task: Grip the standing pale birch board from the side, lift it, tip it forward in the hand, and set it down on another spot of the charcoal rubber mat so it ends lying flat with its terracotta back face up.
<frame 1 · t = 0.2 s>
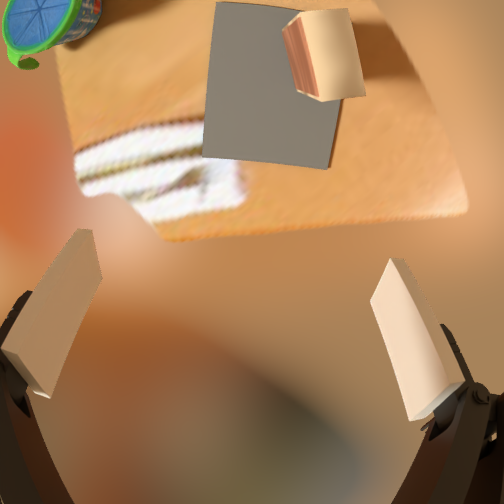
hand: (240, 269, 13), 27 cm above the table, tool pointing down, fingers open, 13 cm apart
birch board: (306, 57, 30), point 1 cm above the table, touching mat
snack cup: (79, 15, 25), on the table
mat: (275, 84, 32), on the table
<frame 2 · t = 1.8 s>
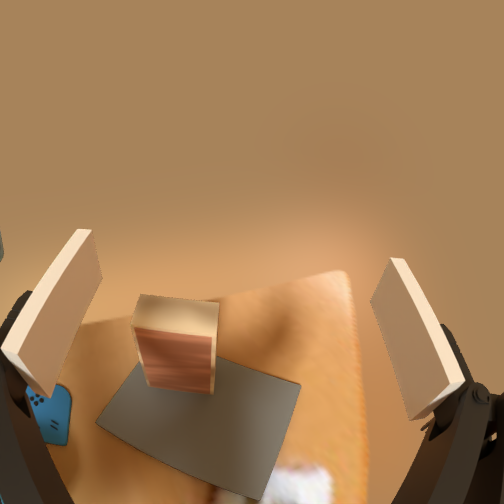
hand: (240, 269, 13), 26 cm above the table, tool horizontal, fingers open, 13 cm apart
handheld gaming device: (23, 409, 26), on the table
birch board: (182, 377, 35), point 1 cm above the table, touching mat
mat: (201, 411, 32), on the table
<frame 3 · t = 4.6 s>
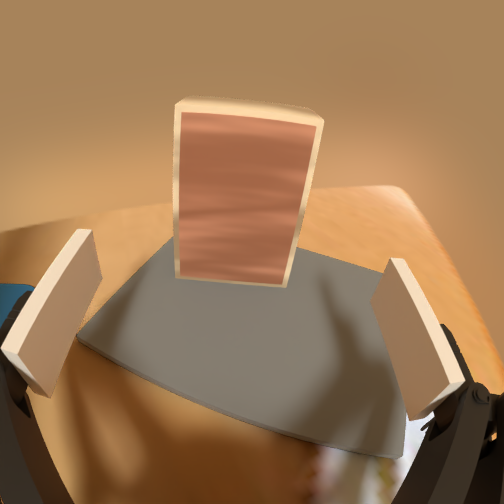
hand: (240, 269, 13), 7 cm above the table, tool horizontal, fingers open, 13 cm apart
birch board: (231, 265, 23), point 1 cm above the table, touching mat
mat: (269, 314, 21), on the table
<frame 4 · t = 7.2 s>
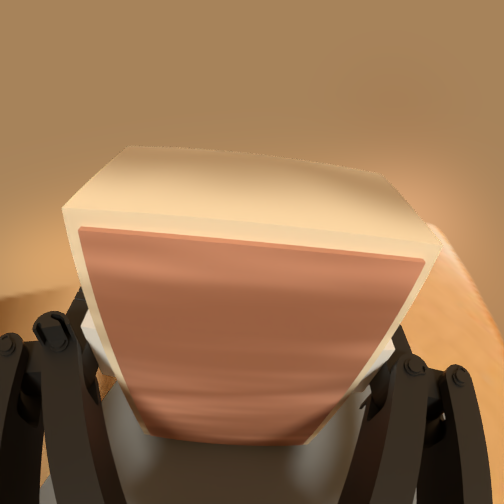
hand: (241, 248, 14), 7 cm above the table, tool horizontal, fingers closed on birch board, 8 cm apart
birch board: (227, 409, 14), point 1 cm above the table, touching gripper, mat
mat: (282, 486, 11), on the table
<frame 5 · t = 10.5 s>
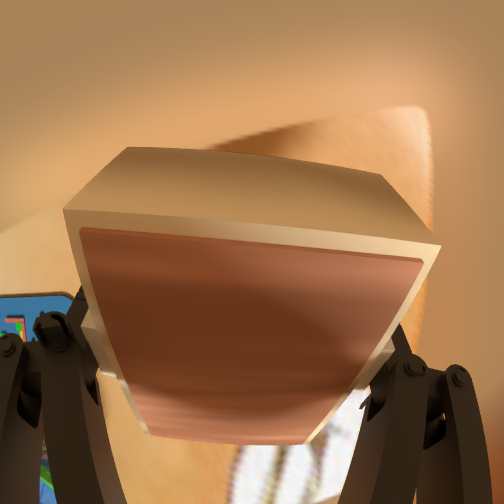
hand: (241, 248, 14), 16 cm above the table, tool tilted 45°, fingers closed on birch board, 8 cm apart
handheld gaming device: (32, 333, 27), on the table
birch board: (227, 408, 14), point 14 cm above the table, tilted 45°, touching gripper
snack cup: (73, 464, 24), on the table
when the fingers open (5 cm above the table, at t = 14.6 s): birch board drops 1 cm and tips over, resting on mat.
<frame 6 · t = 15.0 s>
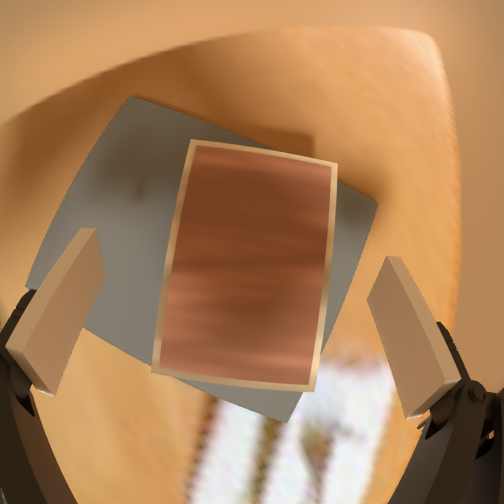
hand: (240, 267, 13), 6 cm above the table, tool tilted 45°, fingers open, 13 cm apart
birch board: (232, 375, 16), point 3 cm above the table, tilted 90°, touching mat
mat: (194, 245, 19), on the table
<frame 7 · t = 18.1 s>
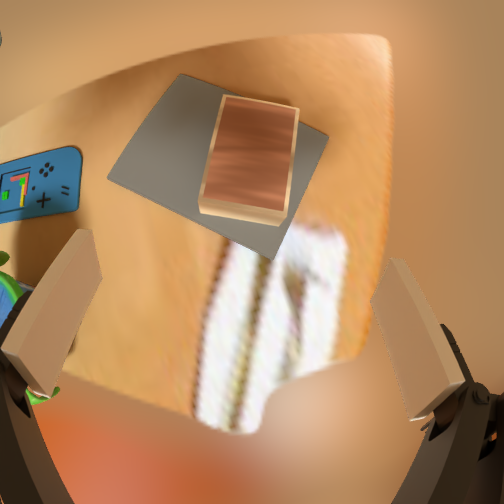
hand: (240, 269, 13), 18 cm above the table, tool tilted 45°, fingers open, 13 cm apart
handheld gaming device: (33, 187, 30), on the table
birch board: (240, 214, 29), point 3 cm above the table, tilted 90°, touching mat
snack cup: (41, 323, 28), on the table
mat: (220, 153, 32), on the table
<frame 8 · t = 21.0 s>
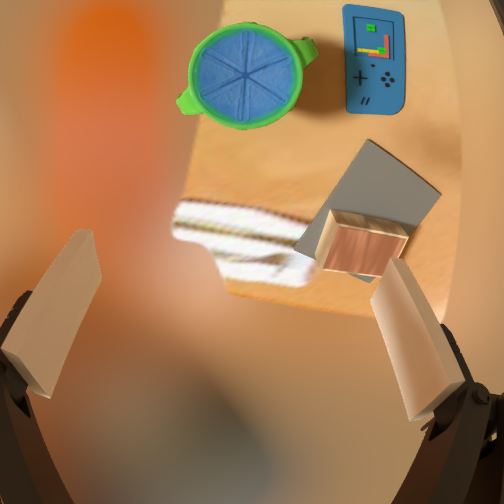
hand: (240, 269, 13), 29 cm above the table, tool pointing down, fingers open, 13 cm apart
handheld gaming device: (374, 59, 31), on the table
birch board: (324, 239, 43), point 3 cm above the table, tilted 90°, touching mat
snack cup: (246, 71, 32), on the table
mat: (370, 219, 44), on the table
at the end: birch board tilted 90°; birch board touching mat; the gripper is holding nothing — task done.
